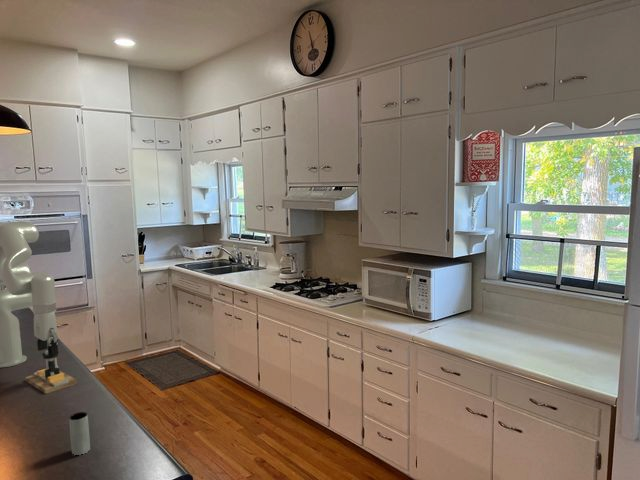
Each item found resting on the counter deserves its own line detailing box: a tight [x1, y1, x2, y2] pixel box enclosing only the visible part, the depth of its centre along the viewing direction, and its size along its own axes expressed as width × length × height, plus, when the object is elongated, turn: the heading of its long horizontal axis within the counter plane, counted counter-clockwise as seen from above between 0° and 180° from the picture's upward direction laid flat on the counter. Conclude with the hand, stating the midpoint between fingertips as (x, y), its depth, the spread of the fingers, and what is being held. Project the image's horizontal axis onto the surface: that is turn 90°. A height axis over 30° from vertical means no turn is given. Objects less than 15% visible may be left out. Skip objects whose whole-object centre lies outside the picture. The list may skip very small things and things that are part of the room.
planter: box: [68, 411, 91, 456], centre depth 129 cm, size 4×4×10 cm
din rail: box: [33, 371, 69, 387], centre depth 178 cm, size 19×5×1 cm, turn 51°
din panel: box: [24, 370, 78, 394], centre depth 178 cm, size 19×11×2 cm, turn 51°
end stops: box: [36, 367, 64, 382], centre depth 178 cm, size 12×5×2 cm, turn 51°
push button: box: [40, 349, 60, 378], centre depth 177 cm, size 7×5×10 cm
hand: (47, 352), depth 177 cm, fingers open, 9 cm apart
